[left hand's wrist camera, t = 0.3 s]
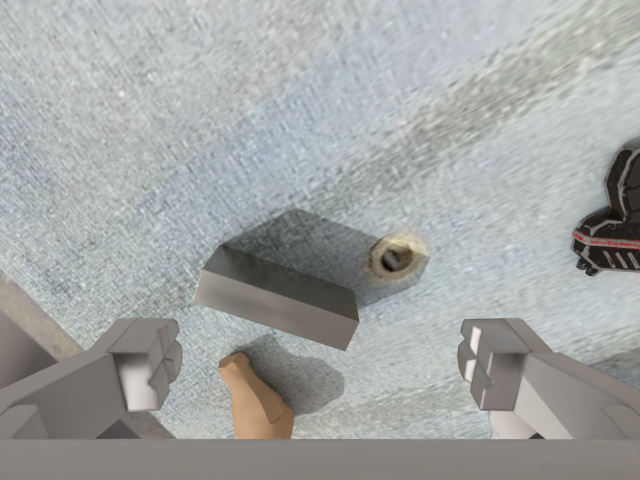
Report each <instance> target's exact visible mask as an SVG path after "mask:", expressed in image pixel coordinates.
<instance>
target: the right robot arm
mask: <svg viewBox="0 0 640 480" xmlns="http://www.w3.org/2000/svg"><path fill="white" fill-rule="evenodd" d="M489 419H490V425H491V427H492V431H493V432H492V436H491V439H545V438H544V437H543V436H541V435H540V434H539V433H538V432H536V431H535V430H534V429H533V428H531V427H530V426H529V425H528V424H526V423H525V422H524V421H523V420H522V419H520V418H519V417H518V416H517V415H515V414H514V411H491V412H490V418H489Z"/></svg>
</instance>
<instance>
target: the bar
mask: <svg viewBox="0 0 640 480" xmlns="http://www.w3.org/2000/svg"><path fill="white" fill-rule="evenodd" d="M192 302H195V303H198V304H201V305H204V306H207V307H210V308H213V309H216V310H219V311H222V312H225V313H229V314H232V315H235V316H238V317H241V318H244V319H247V320H250V321H253V322H256V323H259V324H263V325H266V326H269V327H272V328H275V329H278V330H281V331H284V332H287V333H290V334H293V335H296V336H300V337H303V338H306V339H309V340H312V341H315V342H318V343H321V344H324V345H327V346H330V347H334V348H337V349H340V350H343V351H345V350H346V348H347V346H348V344H349V342H350V340H351V338H352V336H353V334H354V332H355V330H356V328H357V326H358V324H359V316H358V311H357V305H356V300H355V294H354V291H352V290H349V289H346V288H343V287H341V286H338V285H335V284H332V283H329V282H326V281H323V280H320V279H318V278H315V277H312V276H309V275H306V274H303V273H300V272H297V271H294V270H292V269H289V268H286V267H283V266H280V265H277V264H274V263H271V262H269V261H266V260H263V259H260V258H257V257H254V256H251V255H248V254H245V253H243V252H240V251H237V250H234V249H231V248H228V247H225V246H222V245H219V246H218V248H217V249H216V250H215V252H214V253H213V254H212V256H211V257H210V258H209V260H208V261H207V263H206V264H205V265H204V267H203V268H202V270H201V274H200V277H199V280H198V284H197V287H196V290H195V294H194V297H193V300H192Z"/></svg>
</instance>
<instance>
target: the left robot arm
mask: <svg viewBox="0 0 640 480" xmlns="http://www.w3.org/2000/svg"><path fill="white" fill-rule="evenodd" d="M178 333H179V328H178V323H177V321H176V320H175V319H165V318H121V319H118V320H117V321H116V322H115V323H114V324H113V325H112V326H111V327H110V328H109V329H108V330H107V331H106V332H105V333H104V334H103V335H102V336H101V337H100V338H99V339H98V340H97V342H96V343H95V344H94V345H93V346H92V347H91V348H90V349H89V350H88V351H87V352H86V353H78V354H76V355H74V356H72V357H70V358H67V359H65V360H63V361H61V362H59V363H57V364H54V365H52V366H50V367H48V368H46V369H44V370H42V371H39V372H37V373H35V374H33V375H31V376H29V377H27V378H24V379H22V380H20V381H18V382H16V383H14V384H11V385H9V386H7V387H5V388H3V389H1V390H0V480H640V390H639V389H637V388H635V387H633V386H631V385H628V384H626V383H624V382H622V381H620V380H618V379H616V378H613V377H611V376H609V375H607V374H605V373H603V372H601V371H598V370H596V369H594V368H592V367H590V366H588V365H585V364H583V363H581V362H579V361H577V360H575V359H573V358H570V357H568V356H566V355H564V354H562V353H554V352H553V351H552V350H551V349H550V348H549V347H548V346H547V345H546V344H545V343H544V341H543V340H542V339H541V338H540V337H539V336H538V335H537V334H536V333H535V332H534V331H533V330H532V329H531V328H530V327H529V326H528V325H527V324H526V323H525V322H524V321H523V320H522V319H520V318H496V319H464V321H463V323H462V327H461V333H462V335H463V337H464V338H465V339H464V340H463V341H462V342H461V343H460V344H459V346H458V354H457V357H458V366H459V369H460V373H461V375H462V377H463V379H464V380H466V381H467V382H469V383H470V384H471V389H470V392H471V394H472V396H473V398H474V400H475V401H476V403H477V405H478V407H479V409H480V411H514V414H515V415H517V416H518V417H519V418H520V419H522V420H523V421H524V422H525V423H526V424H528V425H529V426H530V427H531V428H533V429H534V430H535V431H536V432H538V433H539V434H540V435H541V436H543V437H544V438H545V439H95V438H96V437H97V436H99V435H100V434H101V433H102V432H104V431H105V430H106V429H107V428H109V427H110V426H111V425H112V424H114V423H115V422H116V421H117V420H119V419H120V418H121V417H122V416H124V415H125V414H126V411H160V409H161V407H162V405H163V403H164V401H165V400H166V398H167V396H168V394H169V392H170V389H169V384H170V383H172V382H173V381H174V380H176V379H177V377H178V375H179V373H180V369H181V365H182V346H181V344H180V343H179V342H178V341H177V340H176V339H175V338H176V337H177V335H178Z"/></svg>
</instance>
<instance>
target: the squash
mask: <svg viewBox="0 0 640 480" xmlns="http://www.w3.org/2000/svg"><path fill="white" fill-rule="evenodd" d="M218 371H219V373H220V375H221V377H222V378H223V379H224V380H225V382H226V383H227V385H228V387H229V389H230V391H231V392H232V398H233V400H232V404H231V408H232V415H233V423H234V430H235V435H236V439H291V434H292V429H293V425H294V411H293V410H292V409H291V408H290V407H288V406H287V405H286V404H285V403H284V402H283V401H282V397H281V396H280V395H279V394H277V393H276V392H275V391H274V390H273V389H272V388H270V387H269V386H267V385H266V384H265V383H264V382H263V381H262V380H260V379H259V378H258V377H257V376H256V375H255V373H254V371H253V370H252V368H251V367H250V365H249V359H248V358H247V357H246V355H245V354H243V353H241V352H239V353H237V354H233V355H229V356H227V357H225V358H223V359H221V360H220V362H219V367H218Z"/></svg>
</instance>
